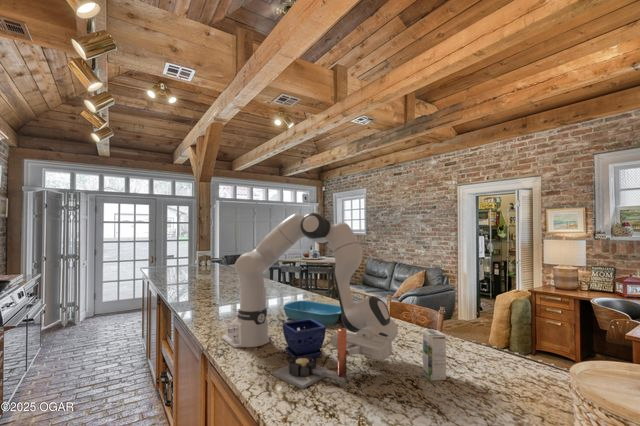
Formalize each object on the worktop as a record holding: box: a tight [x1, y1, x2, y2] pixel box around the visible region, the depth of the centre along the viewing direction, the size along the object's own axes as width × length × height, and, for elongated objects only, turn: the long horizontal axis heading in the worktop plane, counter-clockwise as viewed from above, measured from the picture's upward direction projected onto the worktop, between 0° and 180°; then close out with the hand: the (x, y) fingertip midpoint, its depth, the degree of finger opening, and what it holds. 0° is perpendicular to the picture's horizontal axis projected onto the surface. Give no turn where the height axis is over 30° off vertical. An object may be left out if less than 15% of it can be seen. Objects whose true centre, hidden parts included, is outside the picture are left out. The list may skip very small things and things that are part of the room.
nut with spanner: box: [288, 328, 348, 383], centre depth 104 cm, size 21×9×16 cm, turn 59°
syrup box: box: [422, 329, 447, 381], centre depth 105 cm, size 6×6×14 cm
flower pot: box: [282, 319, 327, 359], centre depth 123 cm, size 13×13×12 cm
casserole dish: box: [282, 300, 341, 327], centre depth 173 cm, size 37×22×7 cm, turn 58°
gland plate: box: [272, 358, 332, 390], centre depth 106 cm, size 14×14×4 cm
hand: (346, 352), depth 100 cm, fingers closed, pressing on nut with spanner
